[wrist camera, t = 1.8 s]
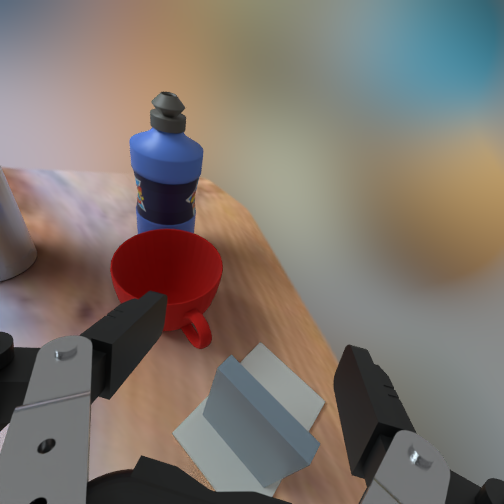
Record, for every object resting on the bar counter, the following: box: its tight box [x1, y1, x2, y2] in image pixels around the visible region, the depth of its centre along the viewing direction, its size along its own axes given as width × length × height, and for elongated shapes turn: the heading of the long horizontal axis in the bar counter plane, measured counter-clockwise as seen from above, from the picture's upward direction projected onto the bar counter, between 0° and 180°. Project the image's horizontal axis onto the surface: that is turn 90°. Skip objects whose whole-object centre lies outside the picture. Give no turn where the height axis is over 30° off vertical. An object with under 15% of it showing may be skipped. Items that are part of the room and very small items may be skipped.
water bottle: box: [130, 92, 203, 234], centre depth 38 cm, size 9×9×25 cm
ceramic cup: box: [110, 229, 223, 349], centre depth 33 cm, size 13×17×10 cm
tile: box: [202, 355, 320, 488], centre depth 23 cm, size 2×9×12 cm, turn 50°
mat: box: [172, 342, 325, 497], centre depth 30 cm, size 15×11×1 cm
